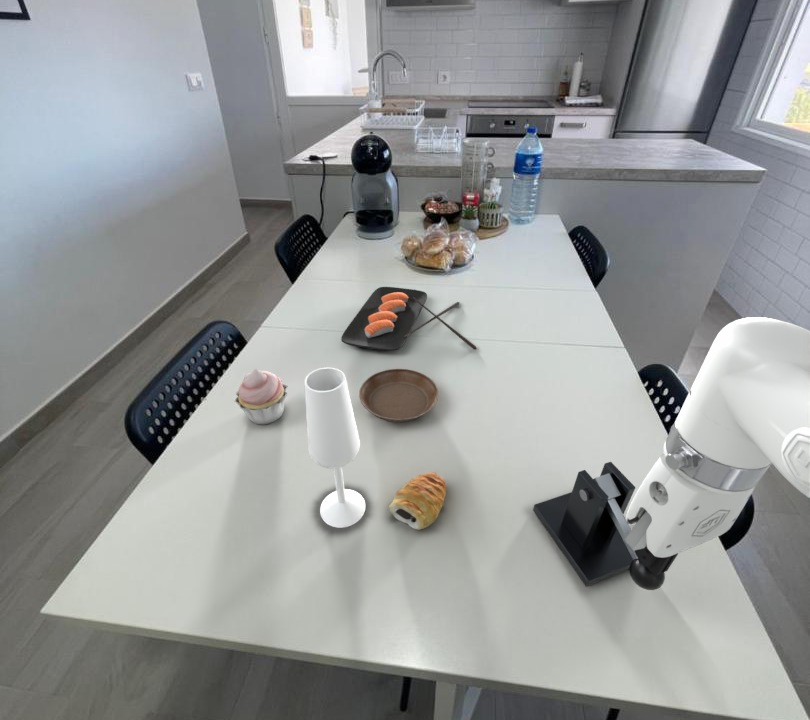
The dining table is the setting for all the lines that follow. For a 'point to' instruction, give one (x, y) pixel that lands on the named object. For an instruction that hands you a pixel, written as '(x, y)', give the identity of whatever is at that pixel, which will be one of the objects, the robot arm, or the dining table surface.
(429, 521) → the pastry
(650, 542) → the robot arm
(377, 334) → the sushi plate
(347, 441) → the champagne flute
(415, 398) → the saucer
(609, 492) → the tap lever
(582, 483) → the black bracket piece
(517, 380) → the dining table surface
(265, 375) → the cupcake
